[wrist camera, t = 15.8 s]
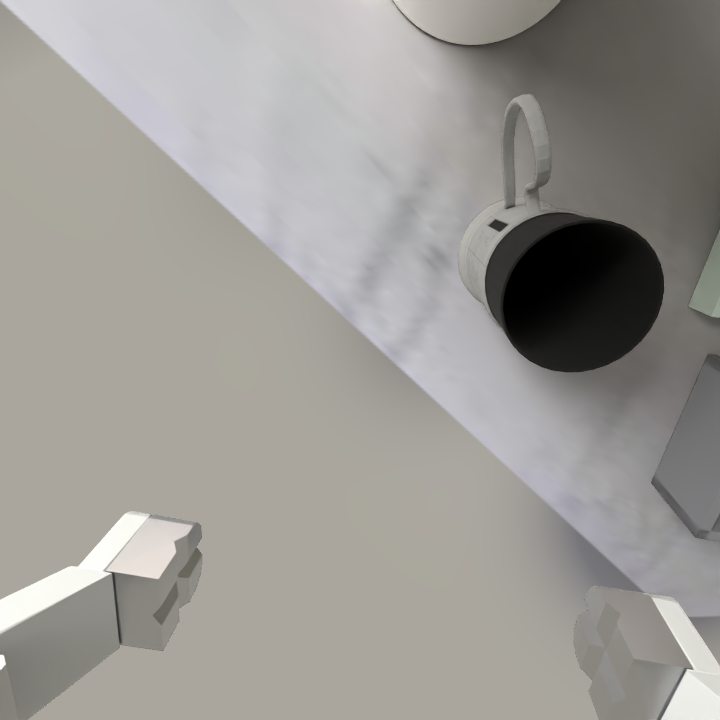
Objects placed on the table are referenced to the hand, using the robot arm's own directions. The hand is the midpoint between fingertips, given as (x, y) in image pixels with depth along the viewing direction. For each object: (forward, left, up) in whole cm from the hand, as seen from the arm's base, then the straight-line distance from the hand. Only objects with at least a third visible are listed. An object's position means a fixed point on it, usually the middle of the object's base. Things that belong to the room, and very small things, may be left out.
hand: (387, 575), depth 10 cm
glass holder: (-6, +7, -31) cm, 32 cm away
